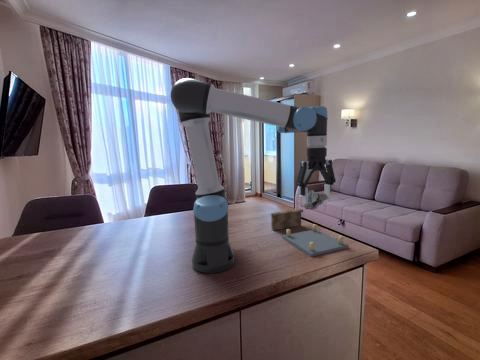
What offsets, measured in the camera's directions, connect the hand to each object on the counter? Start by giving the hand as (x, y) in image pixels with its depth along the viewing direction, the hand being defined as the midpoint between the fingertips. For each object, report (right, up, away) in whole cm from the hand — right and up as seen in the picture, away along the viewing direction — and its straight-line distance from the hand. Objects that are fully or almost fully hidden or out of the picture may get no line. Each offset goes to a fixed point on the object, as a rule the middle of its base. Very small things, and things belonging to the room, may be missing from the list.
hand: (316, 201), depth 102 cm
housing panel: (-8, -15, +21) cm, 27 cm away
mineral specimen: (0, -3, 0) cm, 3 cm away
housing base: (0, -17, +2) cm, 18 cm away
